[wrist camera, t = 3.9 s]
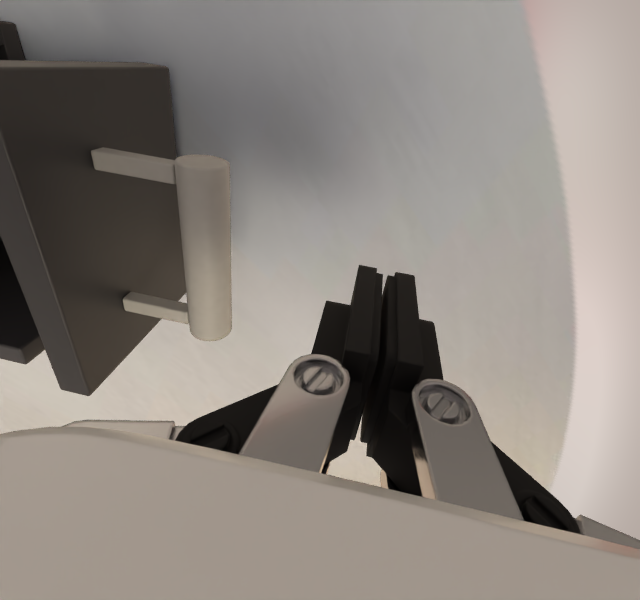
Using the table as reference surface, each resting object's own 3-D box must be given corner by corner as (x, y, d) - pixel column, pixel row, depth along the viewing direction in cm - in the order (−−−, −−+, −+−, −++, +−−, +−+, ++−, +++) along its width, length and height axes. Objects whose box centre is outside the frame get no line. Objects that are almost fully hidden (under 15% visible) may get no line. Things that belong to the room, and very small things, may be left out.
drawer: (276, 83, 14) (171, 99, 7) (264, 306, 20) (200, 423, 13) (-137, 17, 15) (-532, -20, 9) (-34, 243, 21) (-225, 322, 14)
